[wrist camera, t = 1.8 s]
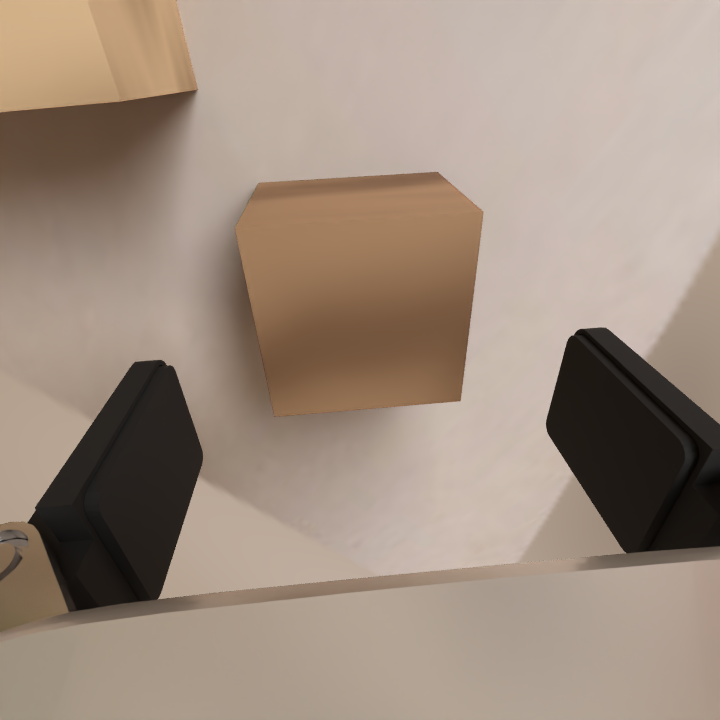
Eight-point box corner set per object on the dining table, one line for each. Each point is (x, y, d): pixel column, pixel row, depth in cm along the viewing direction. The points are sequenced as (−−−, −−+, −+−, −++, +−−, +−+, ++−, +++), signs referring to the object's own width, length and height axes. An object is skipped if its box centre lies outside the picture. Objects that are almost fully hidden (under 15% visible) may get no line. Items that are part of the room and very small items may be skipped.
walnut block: (259, 182, 14) (234, 228, 10) (436, 171, 14) (483, 211, 10) (285, 335, 18) (274, 416, 13) (427, 324, 18) (460, 401, 14)
